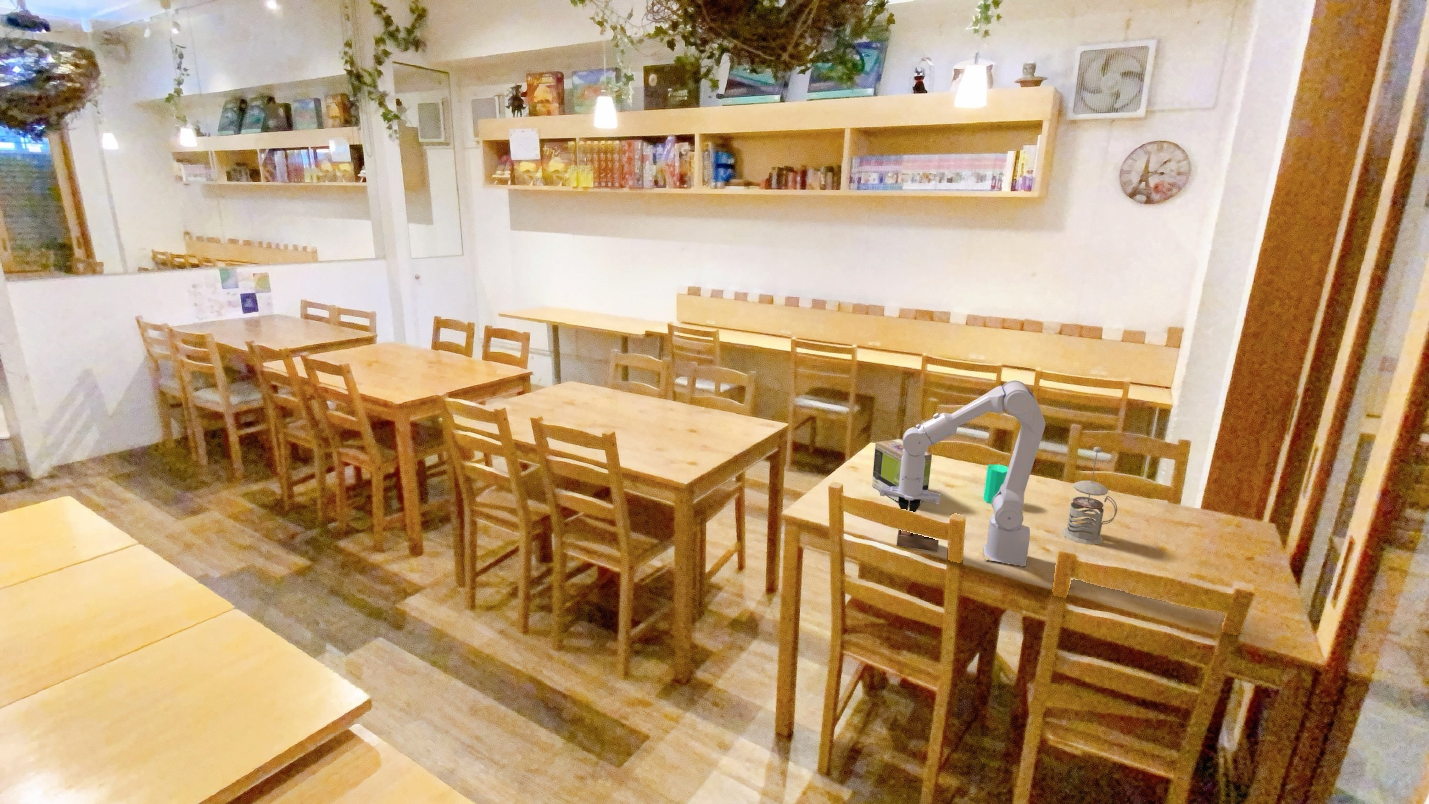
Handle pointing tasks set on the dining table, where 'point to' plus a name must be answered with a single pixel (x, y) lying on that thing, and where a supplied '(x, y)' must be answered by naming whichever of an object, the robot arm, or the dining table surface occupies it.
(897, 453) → the tea box
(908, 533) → the terracotta plug
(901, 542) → the plug block
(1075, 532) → the french press
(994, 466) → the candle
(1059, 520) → the dining table surface
